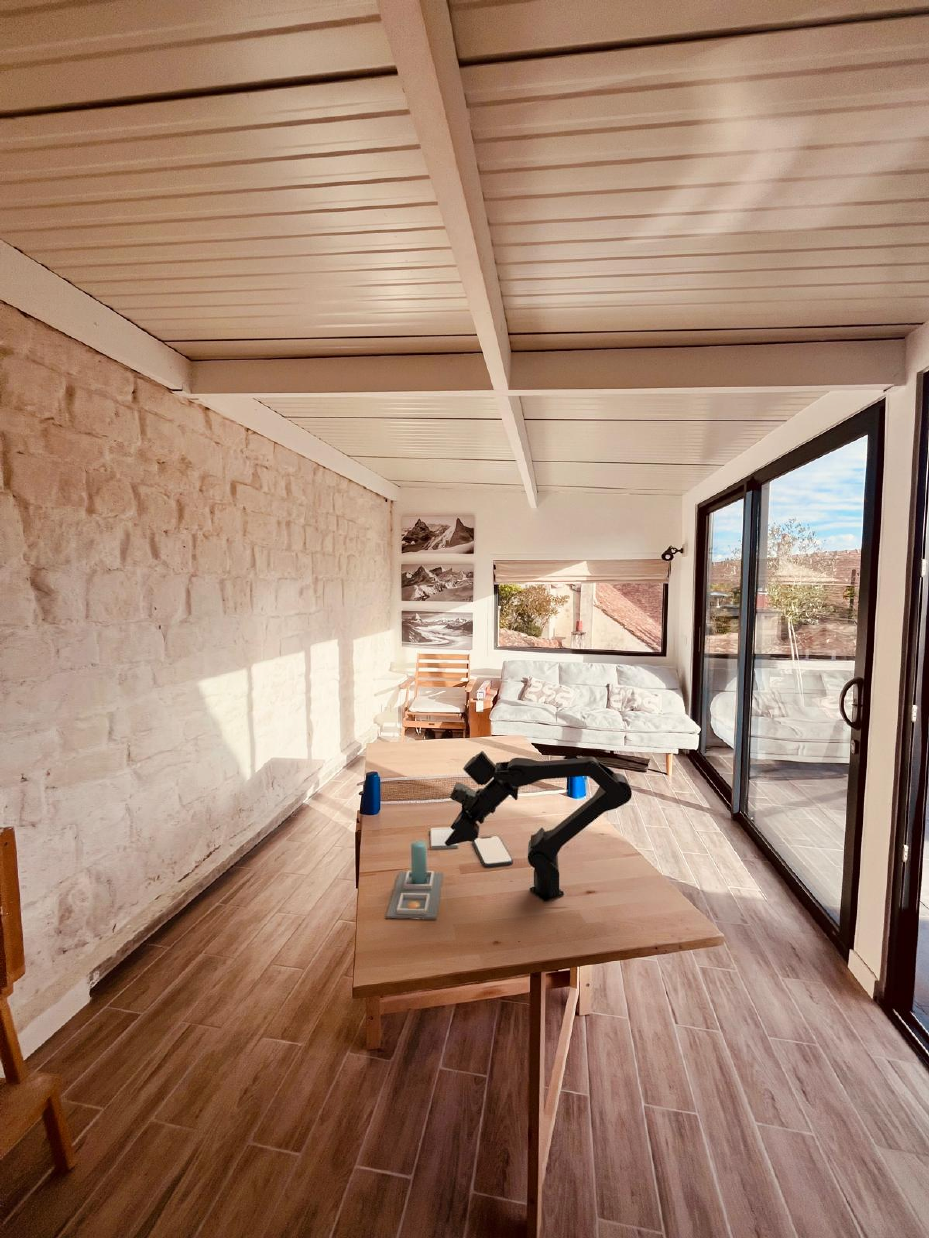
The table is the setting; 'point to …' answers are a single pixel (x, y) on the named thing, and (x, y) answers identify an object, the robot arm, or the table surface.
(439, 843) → the hard drive
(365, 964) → the table surface
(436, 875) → the pin board
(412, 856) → the pin
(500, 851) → the white smartphone
